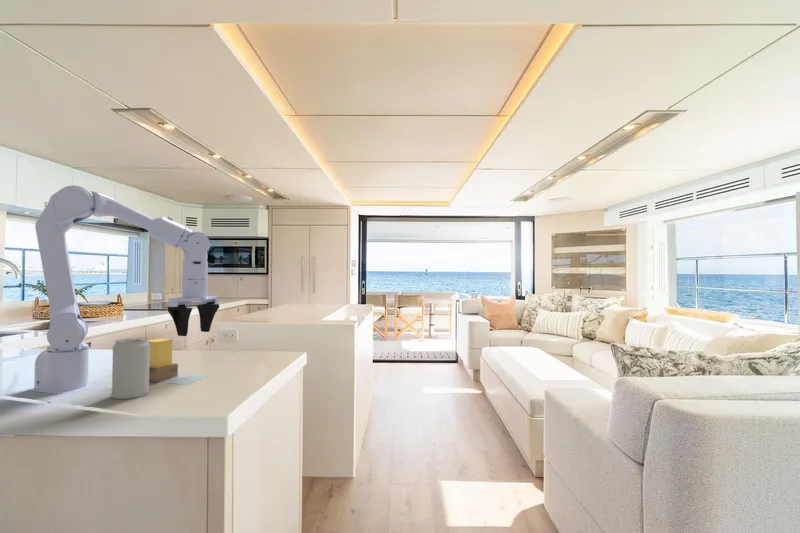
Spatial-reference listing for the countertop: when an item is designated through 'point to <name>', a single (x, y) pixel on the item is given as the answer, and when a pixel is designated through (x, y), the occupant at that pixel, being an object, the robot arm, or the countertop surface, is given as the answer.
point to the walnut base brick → (163, 373)
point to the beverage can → (130, 368)
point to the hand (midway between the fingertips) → (194, 333)
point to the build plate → (183, 378)
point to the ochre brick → (160, 353)
